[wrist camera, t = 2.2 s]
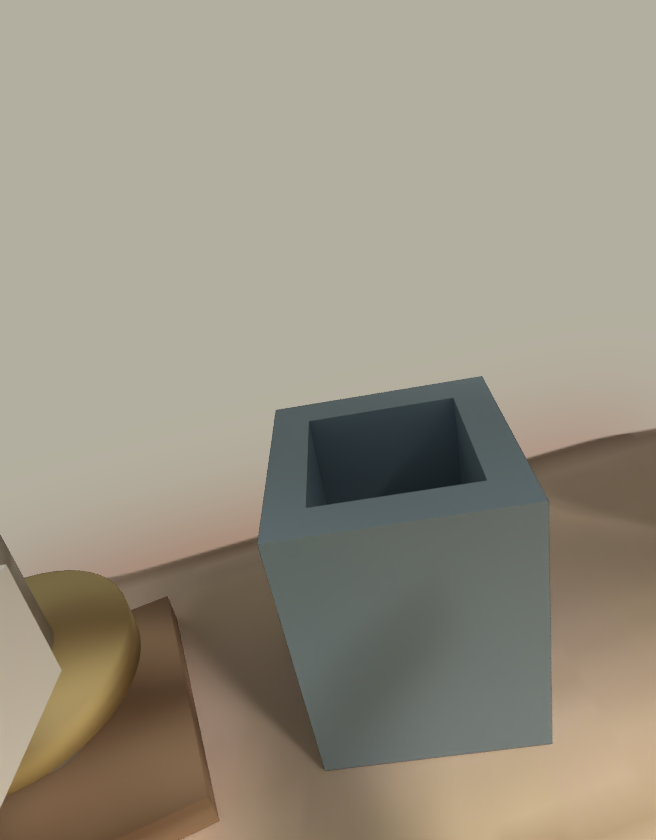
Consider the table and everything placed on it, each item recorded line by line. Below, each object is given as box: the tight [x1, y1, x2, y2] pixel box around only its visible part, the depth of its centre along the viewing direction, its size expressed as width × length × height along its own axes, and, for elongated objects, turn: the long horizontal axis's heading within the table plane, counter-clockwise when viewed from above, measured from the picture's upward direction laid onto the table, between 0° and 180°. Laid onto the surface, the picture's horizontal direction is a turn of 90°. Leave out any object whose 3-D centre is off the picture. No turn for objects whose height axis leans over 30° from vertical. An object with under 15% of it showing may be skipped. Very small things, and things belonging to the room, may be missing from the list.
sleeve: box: [257, 376, 552, 771], centre depth 24 cm, size 8×8×11 cm
